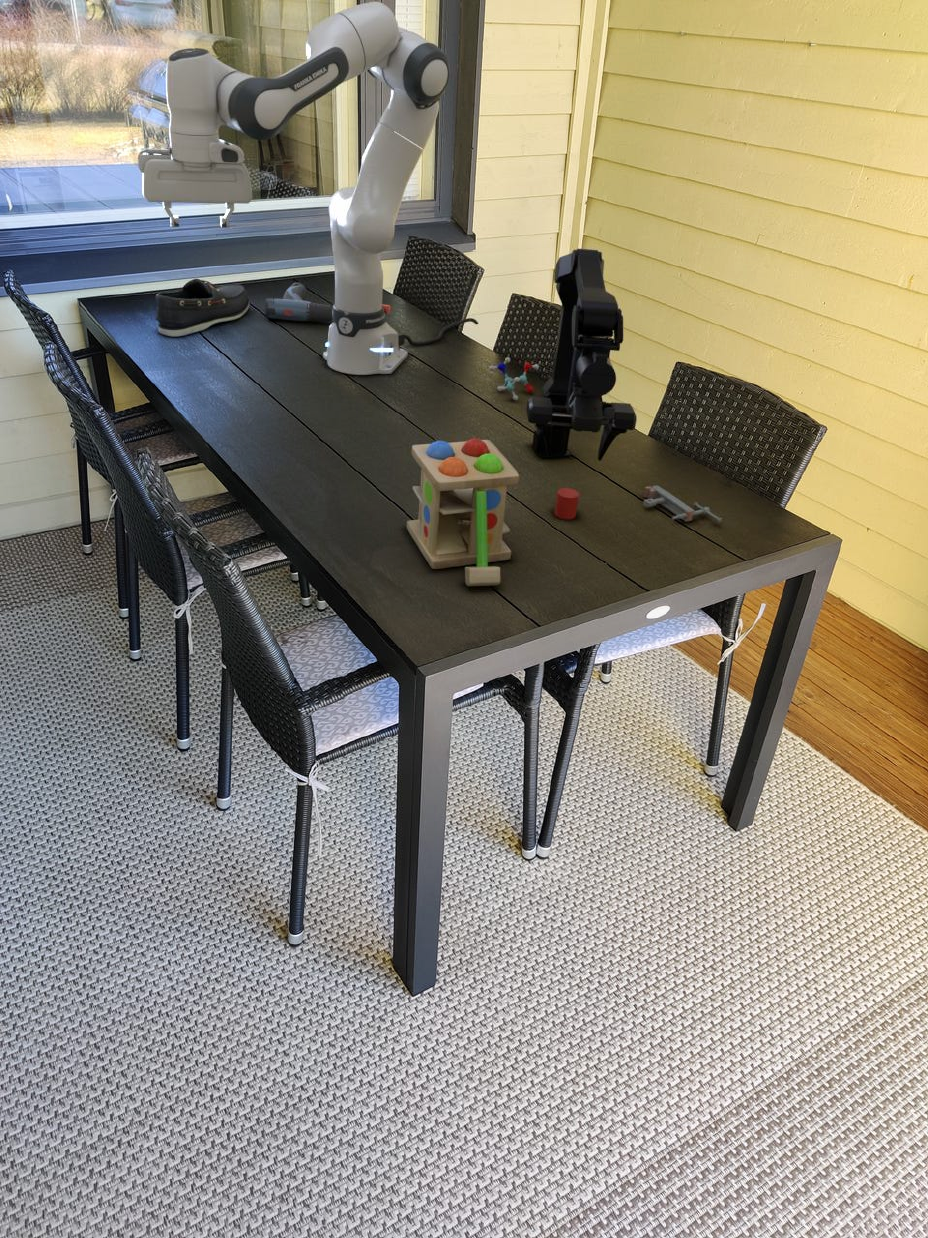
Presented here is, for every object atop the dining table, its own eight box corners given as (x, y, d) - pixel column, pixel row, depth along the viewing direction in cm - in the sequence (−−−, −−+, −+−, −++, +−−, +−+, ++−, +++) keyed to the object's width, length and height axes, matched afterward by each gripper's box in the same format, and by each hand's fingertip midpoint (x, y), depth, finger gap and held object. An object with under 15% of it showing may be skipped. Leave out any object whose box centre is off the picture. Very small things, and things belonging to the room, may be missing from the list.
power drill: (344, 304, 276) (335, 327, 259) (277, 298, 275) (264, 321, 258) (344, 285, 273) (335, 306, 256) (277, 279, 272) (264, 300, 255)
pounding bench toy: (530, 586, 160) (545, 488, 150) (449, 597, 155) (458, 496, 145) (480, 519, 178) (490, 427, 168) (405, 527, 173) (411, 433, 163)
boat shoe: (268, 313, 265) (265, 274, 259) (176, 339, 241) (172, 296, 236) (232, 304, 271) (230, 265, 265) (140, 328, 247) (135, 286, 241)
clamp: (632, 488, 188) (672, 480, 193) (630, 499, 190) (670, 490, 194) (684, 524, 178) (724, 515, 182) (681, 535, 179) (722, 525, 184)
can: (579, 515, 183) (583, 494, 180) (565, 521, 180) (569, 499, 178) (564, 507, 185) (567, 485, 182) (549, 513, 182) (553, 491, 180)
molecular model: (534, 392, 222) (521, 349, 221) (497, 406, 226) (483, 364, 224) (547, 391, 232) (534, 350, 231) (510, 404, 236) (497, 364, 235)
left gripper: (137, 149, 177) (145, 230, 185) (252, 153, 183) (254, 230, 191) (135, 143, 182) (143, 221, 190) (247, 147, 188) (250, 223, 196)
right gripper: (537, 387, 160) (526, 474, 169) (649, 395, 161) (632, 481, 170) (531, 364, 169) (521, 447, 178) (637, 371, 170) (622, 454, 179)
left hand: (200, 226), depth 190 cm, fingers open, 8 cm apart
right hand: (573, 457), depth 176 cm, fingers open, 9 cm apart
